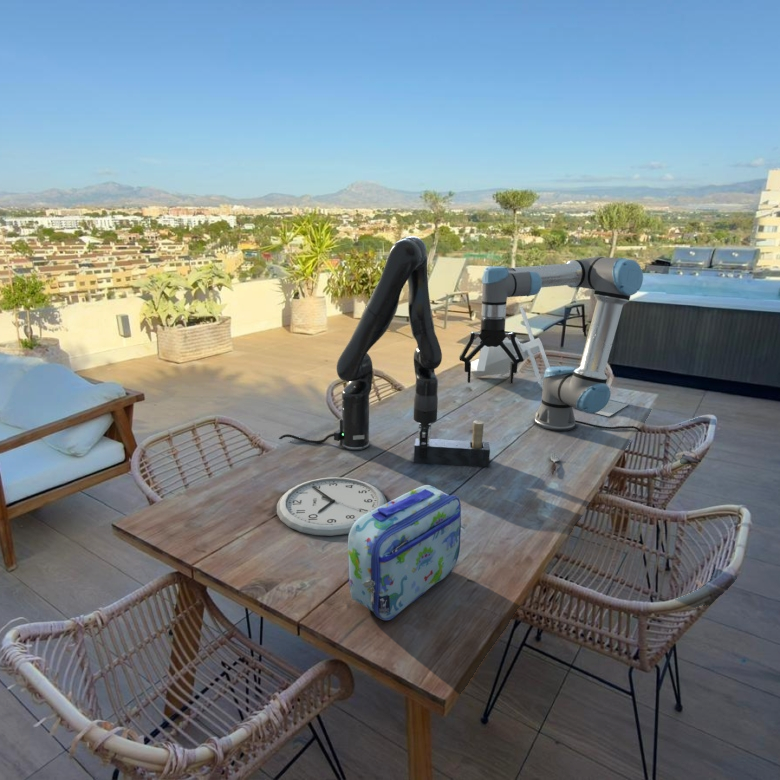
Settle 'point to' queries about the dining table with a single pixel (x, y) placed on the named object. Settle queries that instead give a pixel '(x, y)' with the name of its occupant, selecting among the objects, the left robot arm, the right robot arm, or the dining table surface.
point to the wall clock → (328, 505)
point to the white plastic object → (499, 361)
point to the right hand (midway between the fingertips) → (489, 382)
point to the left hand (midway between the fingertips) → (423, 454)
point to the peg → (477, 434)
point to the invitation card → (611, 408)
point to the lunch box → (403, 549)
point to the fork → (554, 461)
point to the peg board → (453, 453)
